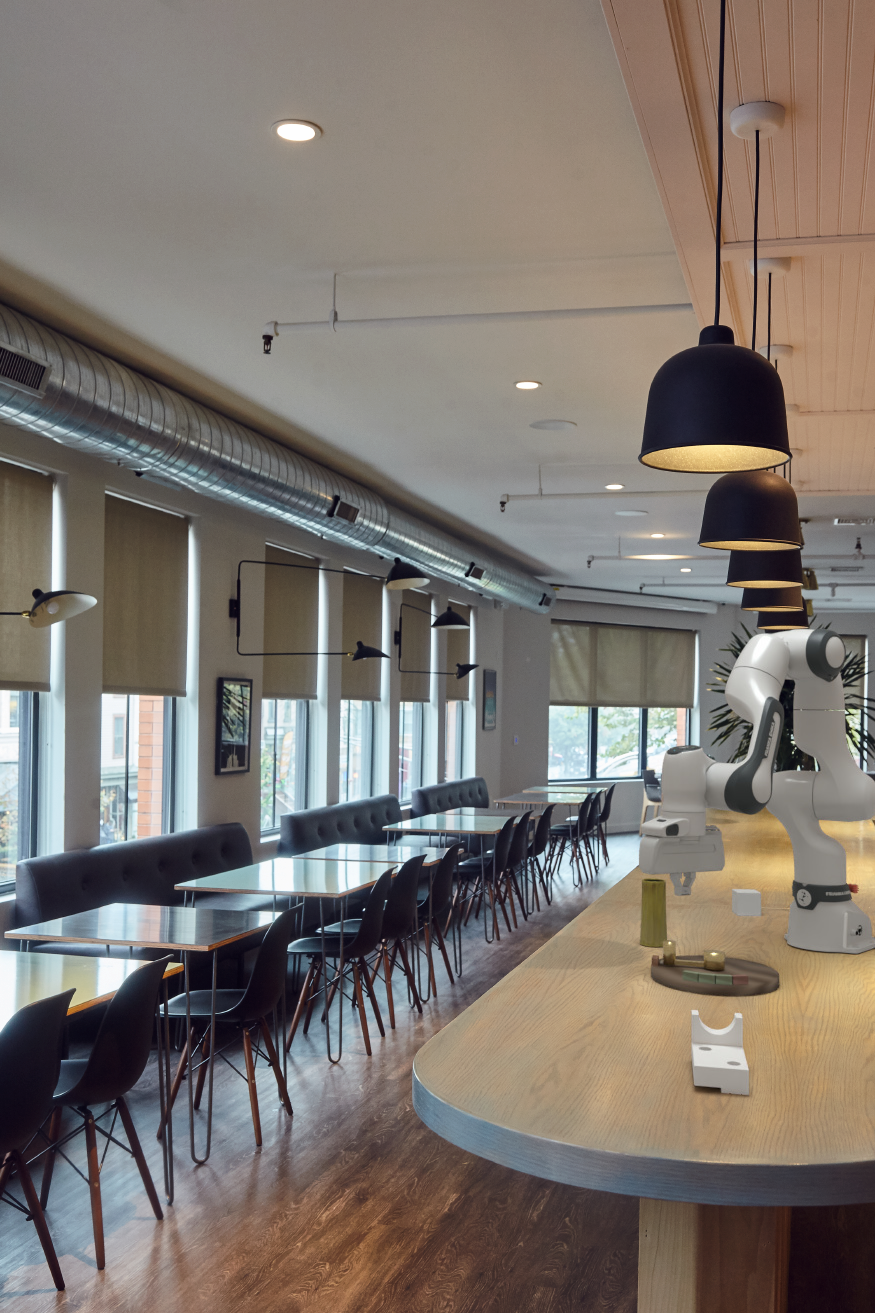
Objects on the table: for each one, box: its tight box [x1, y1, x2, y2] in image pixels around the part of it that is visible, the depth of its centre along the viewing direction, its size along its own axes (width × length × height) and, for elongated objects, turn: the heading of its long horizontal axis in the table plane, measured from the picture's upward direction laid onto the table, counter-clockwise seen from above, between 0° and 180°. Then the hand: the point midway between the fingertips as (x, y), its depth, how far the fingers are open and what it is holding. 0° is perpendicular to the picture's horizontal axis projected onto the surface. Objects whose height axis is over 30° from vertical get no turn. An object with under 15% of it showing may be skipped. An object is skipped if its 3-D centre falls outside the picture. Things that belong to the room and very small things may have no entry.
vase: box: [639, 877, 668, 948], centre depth 235 cm, size 6×6×14 cm
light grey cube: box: [731, 888, 762, 917], centre depth 274 cm, size 6×6×6 cm
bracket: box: [690, 1009, 750, 1096], centre depth 148 cm, size 13×7×8 cm, turn 168°
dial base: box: [650, 954, 780, 997], centre depth 203 cm, size 24×24×4 cm
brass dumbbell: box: [660, 939, 726, 970], centre depth 204 cm, size 12×4×4 cm, turn 74°
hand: (682, 895), depth 211 cm, fingers closed
